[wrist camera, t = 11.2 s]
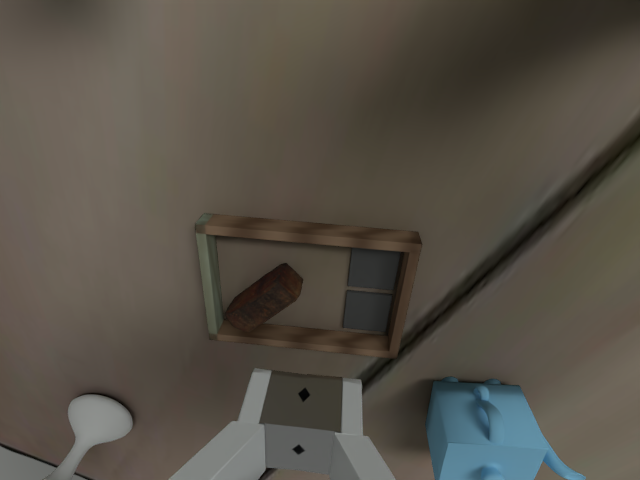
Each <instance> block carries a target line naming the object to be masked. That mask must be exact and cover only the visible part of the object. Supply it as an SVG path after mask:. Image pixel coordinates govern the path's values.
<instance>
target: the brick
mask: <svg viewBox="0 0 640 480" xmlns="http://www.w3.org/2000/svg"><path fill="white" fill-rule="evenodd" d="M302 283H303V279H302V278H301V277H300V276H299V275H298V274H297V273H296V272H295V271H294V270H293V269H292V268H291V267H290V266H289V265H288V264H287V263H284V264H281V265H279V266H278V267H276V268H275V269H274V270H273V271H271V272H269V273H267V274H266V275H264V276H263V277H262V278H260V279H259V280H258V281H256V282H255V283H254V284H252V285H251V286H250V287H249V288H247V289H246V290H244V291H243V292H242V293H240V294H239V295H238V296H236V297H235V298H234V300H233V302H232V303H231V304H230V306H229V307H228V309H227V312H226V314H225V315H226V318H227V319H228V320H229V321H230V323H231V325H232V326H234V327H235V328H238V329H240V330H242V331H244V332H250V331H252V330H254V329H255V328H257V327H258V326H260V325H261V324H263V323H264V322H265V321H267V320H268V319H270V318H271V317H273V316H274V315H276V314H277V313H279V312H280V311H281V310H283V309H284V308H286V307H288V306H289V305H290V304H292V303H293V302H295V301H296V300H297V298H298V297H299V296H300V292H301V288H302Z"/></svg>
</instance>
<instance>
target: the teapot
mask: <svg viewBox="0 0 640 480" xmlns="http://www.w3.org/2000/svg"><path fill="white" fill-rule="evenodd" d="M425 426H426V432H427V438H428V443H429V449H430V454H431V460H432V465H433V471H434V477H435V480H534V478H535V476H536V474H537V472H538V470H539V468H540V465H541V463H542V461H544V462H545V463H546V464H547V465H548V466H549V467H550V468H551V469H552V470H553V471H554V472H555V473H557V474H558V475H560V476H561V477H563V478H566V479H569V480H584V479H586V477H585V476H583V475H582V474H580V473H577V472H575V471H574V470H572V469H570V468H569V467H567V466H566V465H565V464H564V463H563V462H562V461H561V460H560V459H559V458H558V456H557V455H556V454H555V452H554V451H553V449H552V448H551V446H550V445H549V443H548V442H547V440H546V439H545V438H544V436H543V435H542V433H541V431H540V429H539V426H538V424H537V422H536V420H535V418H534V416H533V413H532V411H531V409H530V407H529V405H528V403H527V401H526V398H525V396H524V394H523V392H522V390H521V388H520V386H519V385H502V384H501V382H500V381H499V380H497V379H489V380H487V381H485V382H484V383H465V382H458V380H457V379H456V378H455V377H446V378H444V379H442V381H434V382H433V387H432V392H431V398H430V403H429V408H428V413H427V418H426V423H425Z"/></svg>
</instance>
